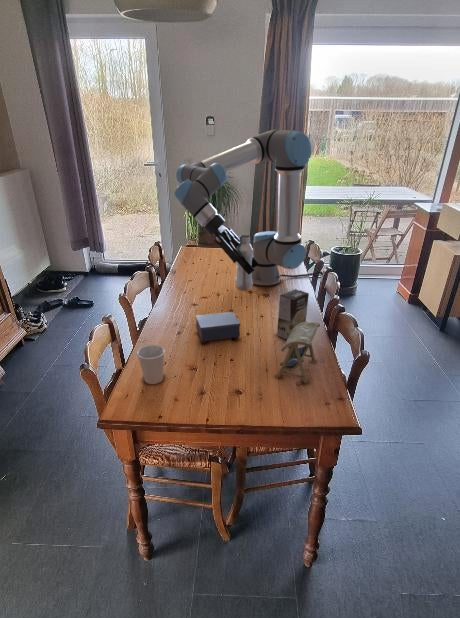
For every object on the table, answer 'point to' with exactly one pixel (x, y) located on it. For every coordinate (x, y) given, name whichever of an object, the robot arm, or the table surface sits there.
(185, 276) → the table surface
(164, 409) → the table surface
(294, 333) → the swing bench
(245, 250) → the plastic bottle
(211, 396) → the table surface
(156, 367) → the dixie cup
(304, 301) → the coffee box
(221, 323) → the grey rectangular box
